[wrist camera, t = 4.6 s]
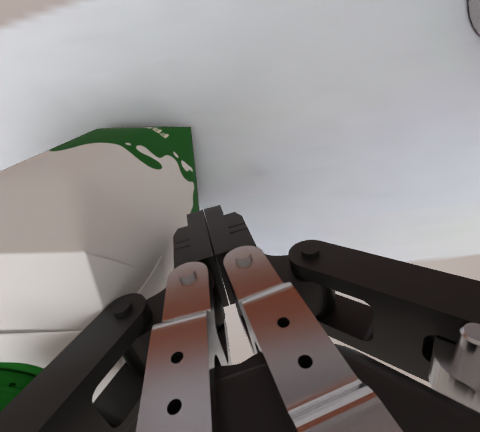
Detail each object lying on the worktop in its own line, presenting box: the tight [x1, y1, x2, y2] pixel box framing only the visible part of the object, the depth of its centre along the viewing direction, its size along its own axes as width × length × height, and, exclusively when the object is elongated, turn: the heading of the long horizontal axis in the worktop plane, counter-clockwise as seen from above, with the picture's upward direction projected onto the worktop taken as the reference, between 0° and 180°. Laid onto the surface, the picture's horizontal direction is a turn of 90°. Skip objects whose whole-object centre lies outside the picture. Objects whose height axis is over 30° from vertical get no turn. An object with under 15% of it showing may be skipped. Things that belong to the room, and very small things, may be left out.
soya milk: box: [0, 127, 199, 412], centre depth 16 cm, size 9×9×20 cm
